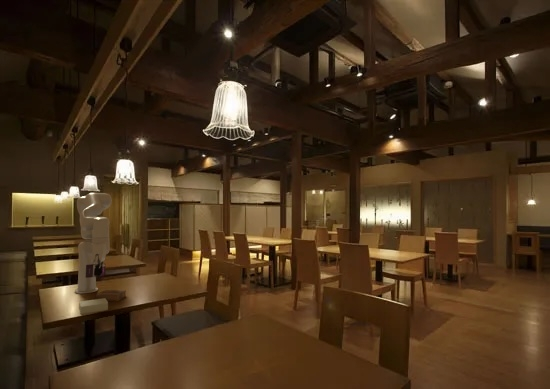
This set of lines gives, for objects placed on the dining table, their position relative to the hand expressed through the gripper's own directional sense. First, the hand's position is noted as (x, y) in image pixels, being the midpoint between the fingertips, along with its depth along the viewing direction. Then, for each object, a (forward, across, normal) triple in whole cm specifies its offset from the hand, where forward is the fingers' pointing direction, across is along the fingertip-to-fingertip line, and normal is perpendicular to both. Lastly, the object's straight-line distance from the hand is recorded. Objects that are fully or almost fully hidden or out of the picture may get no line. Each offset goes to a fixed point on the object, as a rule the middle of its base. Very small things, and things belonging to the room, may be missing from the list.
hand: (98, 274), depth 166 cm
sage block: (+17, +5, -1) cm, 18 cm away
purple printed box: (+1, 0, -2) cm, 2 cm away
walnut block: (+17, -14, +4) cm, 23 cm away
